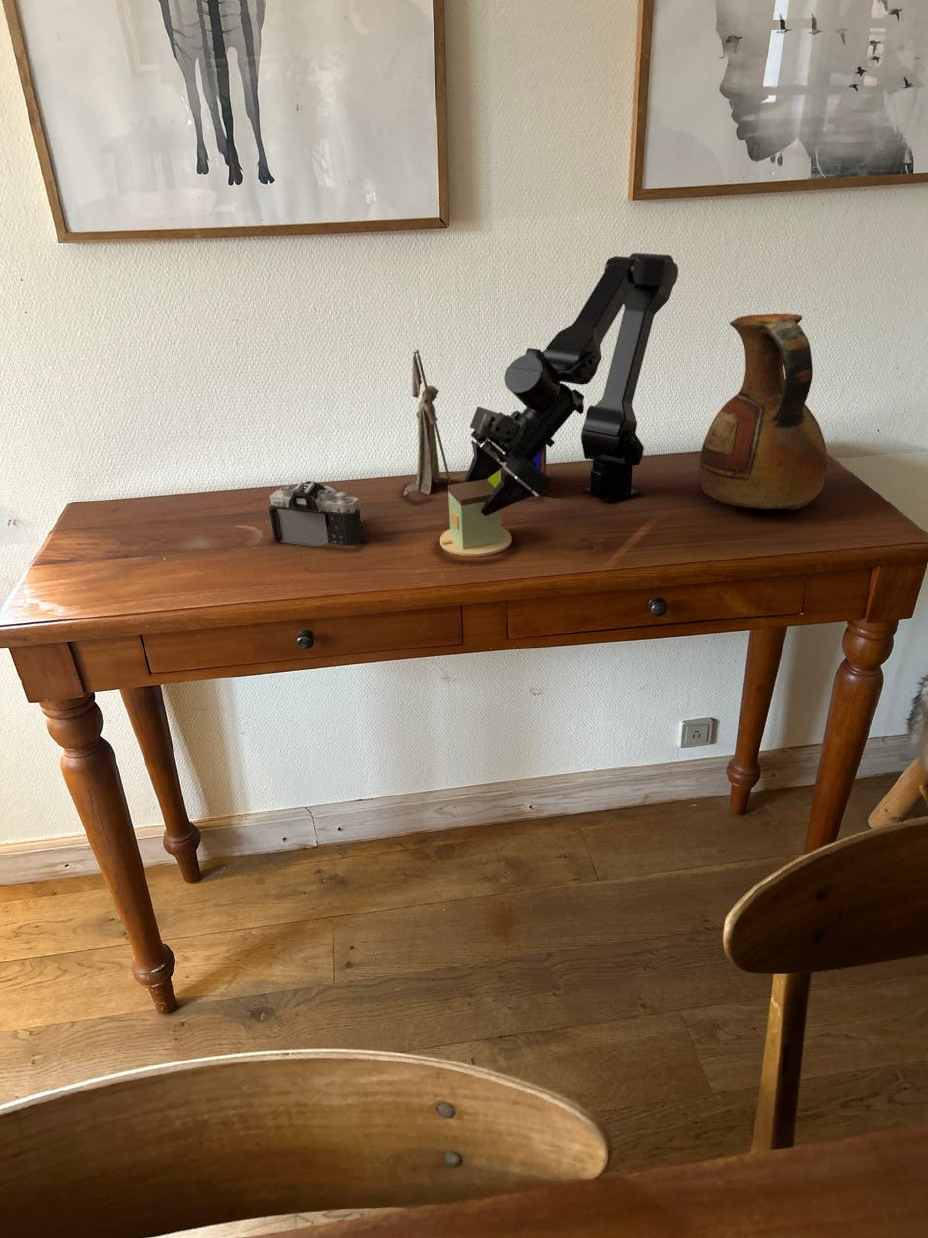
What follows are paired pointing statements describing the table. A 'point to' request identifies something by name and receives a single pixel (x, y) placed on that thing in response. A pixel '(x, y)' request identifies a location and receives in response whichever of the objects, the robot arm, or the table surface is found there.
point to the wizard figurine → (426, 433)
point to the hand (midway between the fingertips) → (472, 502)
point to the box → (473, 522)
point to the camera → (315, 515)
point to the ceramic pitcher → (767, 423)
